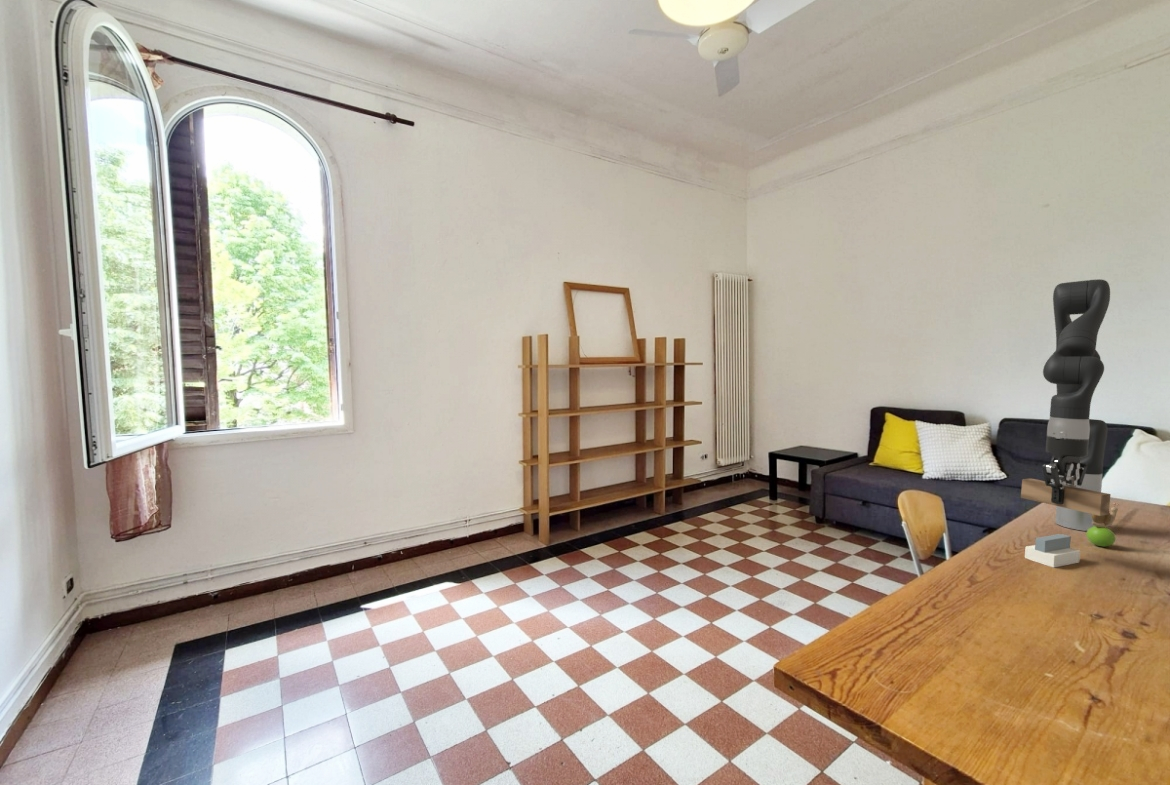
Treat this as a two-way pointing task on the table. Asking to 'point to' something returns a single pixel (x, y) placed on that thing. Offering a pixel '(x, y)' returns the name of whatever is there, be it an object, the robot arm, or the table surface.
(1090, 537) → the snail figurine
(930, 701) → the table surface
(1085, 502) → the walnut bar
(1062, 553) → the white grey stepped block
